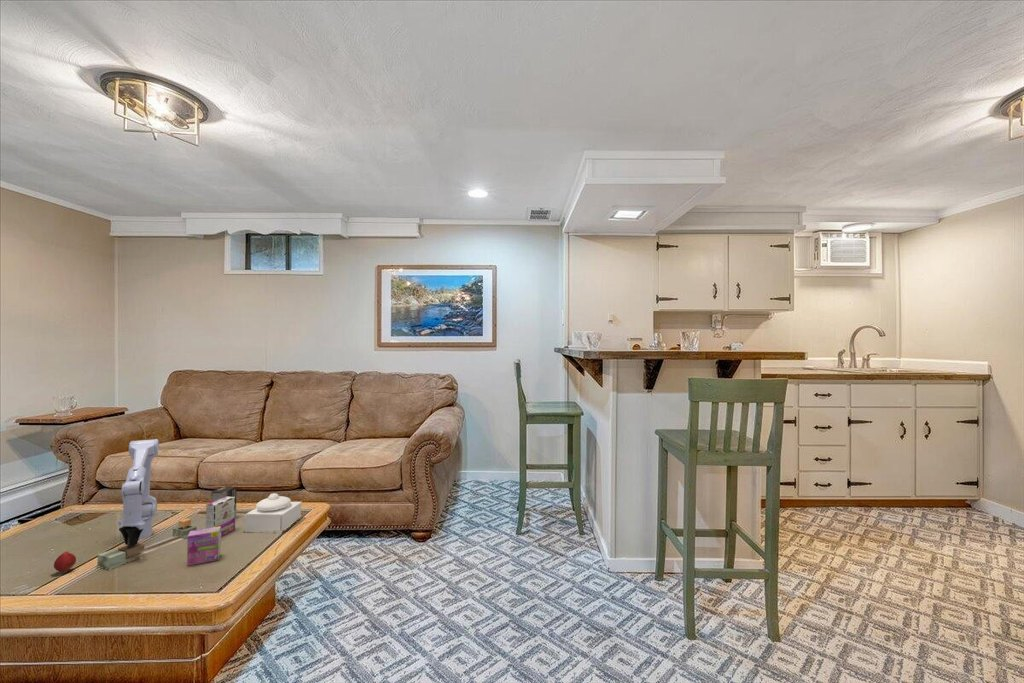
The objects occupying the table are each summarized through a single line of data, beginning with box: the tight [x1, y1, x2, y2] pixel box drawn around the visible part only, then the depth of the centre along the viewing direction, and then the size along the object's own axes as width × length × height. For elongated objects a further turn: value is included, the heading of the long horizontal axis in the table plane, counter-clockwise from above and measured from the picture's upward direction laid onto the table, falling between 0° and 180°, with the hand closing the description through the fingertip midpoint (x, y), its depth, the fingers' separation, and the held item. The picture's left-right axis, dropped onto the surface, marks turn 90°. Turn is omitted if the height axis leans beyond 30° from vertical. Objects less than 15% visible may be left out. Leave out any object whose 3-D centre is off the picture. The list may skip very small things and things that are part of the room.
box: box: [186, 526, 222, 567], centre depth 172 cm, size 10×6×12 cm, turn 117°
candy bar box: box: [205, 496, 236, 538], centre depth 195 cm, size 11×5×16 cm, turn 168°
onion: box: [53, 550, 77, 573], centre depth 163 cm, size 6×6×8 cm
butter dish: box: [243, 492, 303, 533], centre depth 208 cm, size 18×18×16 cm
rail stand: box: [96, 525, 198, 570], centre depth 181 cm, size 8×32×4 cm, turn 160°
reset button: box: [178, 518, 192, 530], centre depth 193 cm, size 3×3×4 cm
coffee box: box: [211, 485, 237, 519], centre depth 213 cm, size 9×6×16 cm
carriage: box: [117, 537, 145, 557], centre depth 174 cm, size 6×6×6 cm
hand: (131, 544), depth 174 cm, fingers closed on carriage, 2 cm apart
